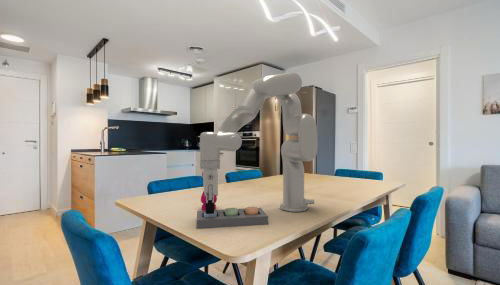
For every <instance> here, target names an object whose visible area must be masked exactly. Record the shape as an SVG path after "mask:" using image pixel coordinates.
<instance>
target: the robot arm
mask: <svg viewBox="0 0 500 285" xmlns="http://www.w3.org/2000/svg"><path fill="white" fill-rule="evenodd" d="M302 86H303V81H302V78H301V75H299V74H298V73H297V72H293V71H292V72H291V71H290V72H284V73H278V74H277V73H276V74H269V75H266V76H263V77H260V78H258V79H255V80H254V81H253V82H252V83H251V84H250V85H249V87H248V89H247V90H246V91H245V93H244V95H243V97H242V98H241V100H240V101H239V104H237V106H236V108H234V109H233V110H232V112H230V114H229V115H228V117H226V118H225V120H224V121H223V122H222V123H221V125H220V127H219V128H218V130H217V132H216V131H203V132H201V133H200V135H199V169H200V170H203V171H202V172H203V176H202V178H203V180H202V181H203V182H202V184H203V191H204V194H205V196H206V211H205V212H206V214H214V194H215V195H216V196H217V197H218V196H219V188H218V187H219V186H218V185H219V182H218V181H219V180H218V173H219V172H218V170H220V169H221V151H225V152H236V151H237V150H239V149H240V148H241V146H242V144H243V140H242V137H241V136H240V134H239V133H238V131H240V129H241V128H242V127H244V126H245V125H247V124H248V123H250V122H252V121H253V120H254V119H256V117H257V115H258V114H259V113H260V112H259V111H260V110H261V108H262V107H263V105H264V103H265V101H266V99H269V98H273V97H274V98H277V99H278V101H279V102H280V105H281V107H282V108H281V109H282V110H281V111H282V127H283V132H284V134H285V135H286V136H289V137H298V138H290V139H287V140H285V141H283V143H282V144H281V148H280V154H281V159H282V171H283V172H282V174H283V175H282V203H280V205H279V209H281V210H282V211H285V212H291V213H297V212H298V213H301V212H305V211H307V210H308V205H315V199H308V198H305V167H304V164H303V162H311V161H313V160H314V159H316V157H317V155H318V130H317V122H316V120H315V118H314V117H313V116H312V115H311V114H310V113H302V104H301V103H302V102H301V100H300V98H299V96H298V95H297V92H299V91H300V90H301V88H302Z"/></svg>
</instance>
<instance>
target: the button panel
mask: <svg viewBox="0 0 500 285" xmlns="http://www.w3.org/2000/svg"><path fill="white" fill-rule="evenodd" d="M257 208H258V214H255V215H245V208H237V209H238V215H237V216H225V209H215V210H214V211H215V212H217V217H204V212H205V211H206V210H197V211H196V229H197V230H198V229H213V228H214V229H215V228H229V227H231V228H232V227H245V226H262V225H263V226H264V225H269V216H268V214H267V213H266V212H265V211H264V210H263V208H262V207H257Z"/></svg>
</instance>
